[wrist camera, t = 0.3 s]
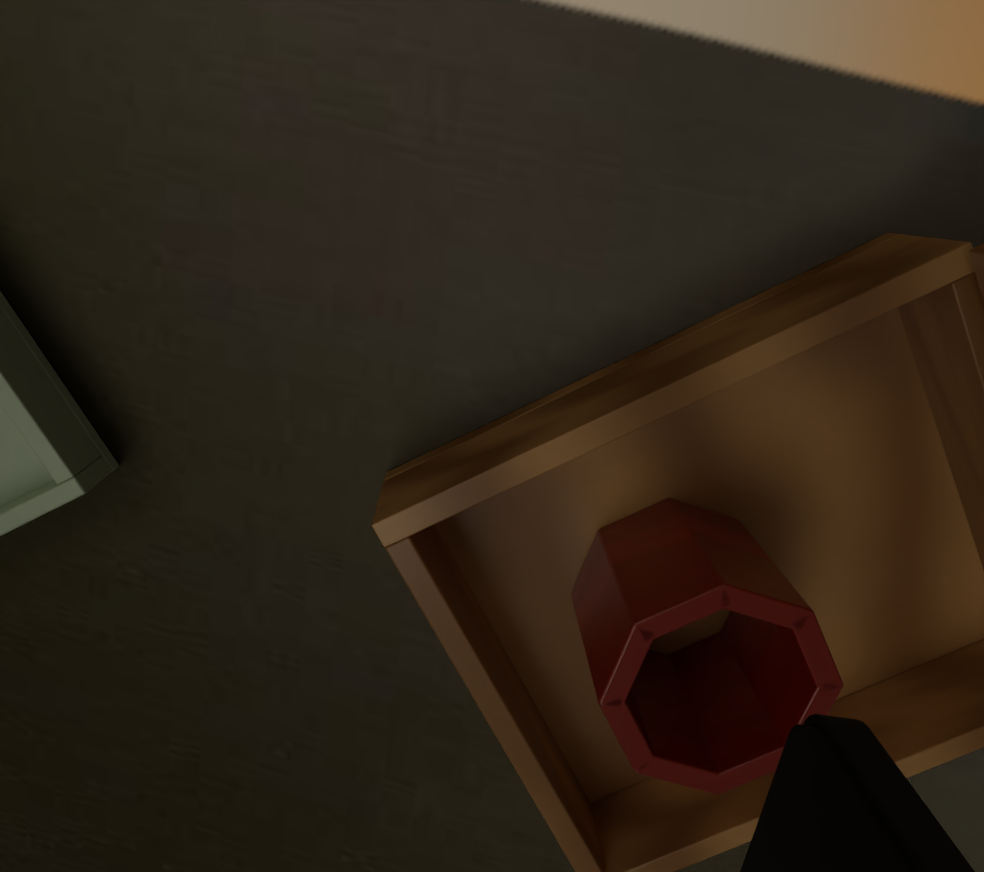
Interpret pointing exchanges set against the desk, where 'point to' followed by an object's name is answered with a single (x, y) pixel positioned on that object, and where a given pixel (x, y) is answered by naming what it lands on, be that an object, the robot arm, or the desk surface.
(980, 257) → the lid
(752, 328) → the chest
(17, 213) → the desk surface
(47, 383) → the tray
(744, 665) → the red octagonal tube
